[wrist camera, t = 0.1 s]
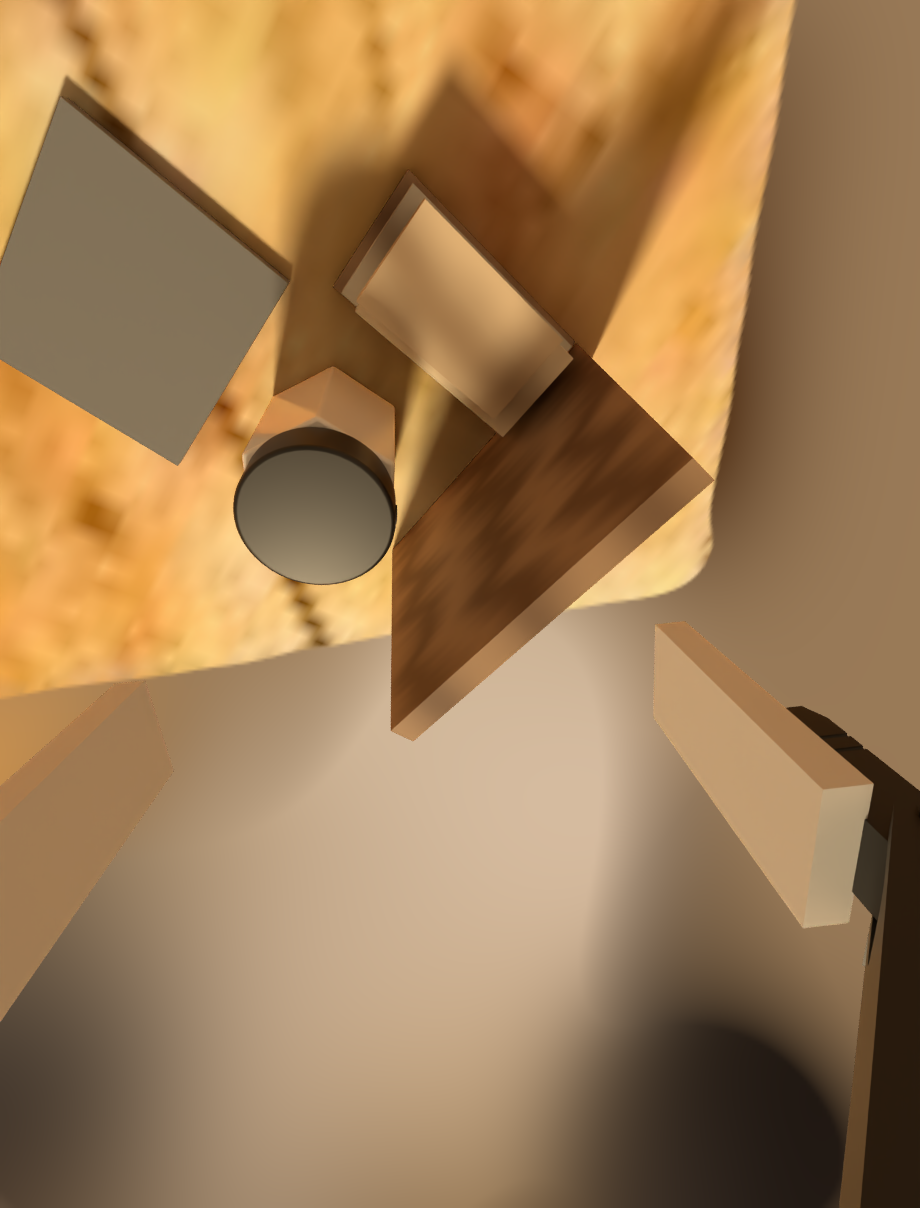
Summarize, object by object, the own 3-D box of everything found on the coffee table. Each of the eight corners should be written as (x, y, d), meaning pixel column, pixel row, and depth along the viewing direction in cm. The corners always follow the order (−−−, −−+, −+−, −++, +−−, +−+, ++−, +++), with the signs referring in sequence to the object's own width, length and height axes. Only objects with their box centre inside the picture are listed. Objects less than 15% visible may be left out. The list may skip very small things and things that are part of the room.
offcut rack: (408, 169, 30) (418, 172, 16) (591, 359, 37) (714, 480, 23) (230, 445, 38) (132, 610, 24) (407, 559, 45) (413, 741, 31)
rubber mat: (68, 98, 27) (60, 96, 27) (290, 281, 33) (287, 283, 32) (-20, 339, 33) (-28, 342, 33) (181, 461, 39) (177, 465, 38)
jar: (312, 509, 42) (287, 610, 32) (242, 409, 37) (189, 493, 27) (421, 458, 40) (430, 549, 31) (363, 346, 35) (351, 413, 26)
